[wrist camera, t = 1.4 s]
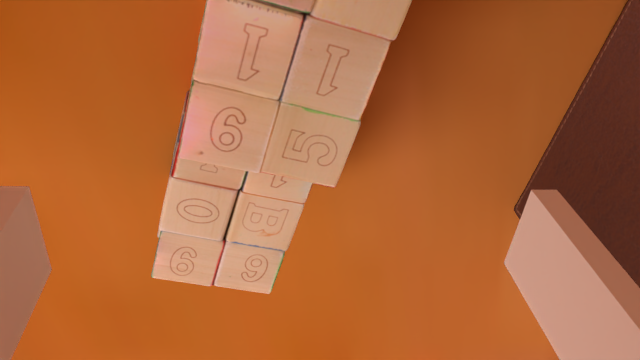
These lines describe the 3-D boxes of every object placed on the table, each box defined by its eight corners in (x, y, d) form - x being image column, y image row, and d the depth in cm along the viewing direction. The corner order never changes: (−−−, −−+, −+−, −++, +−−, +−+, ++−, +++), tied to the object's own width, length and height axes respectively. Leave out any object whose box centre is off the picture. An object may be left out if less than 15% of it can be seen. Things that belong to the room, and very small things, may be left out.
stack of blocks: (264, 194, 35) (272, 345, 25) (168, 174, 33) (134, 328, 23) (387, -172, 24) (491, -171, 14) (255, -229, 22) (265, -275, 12)
